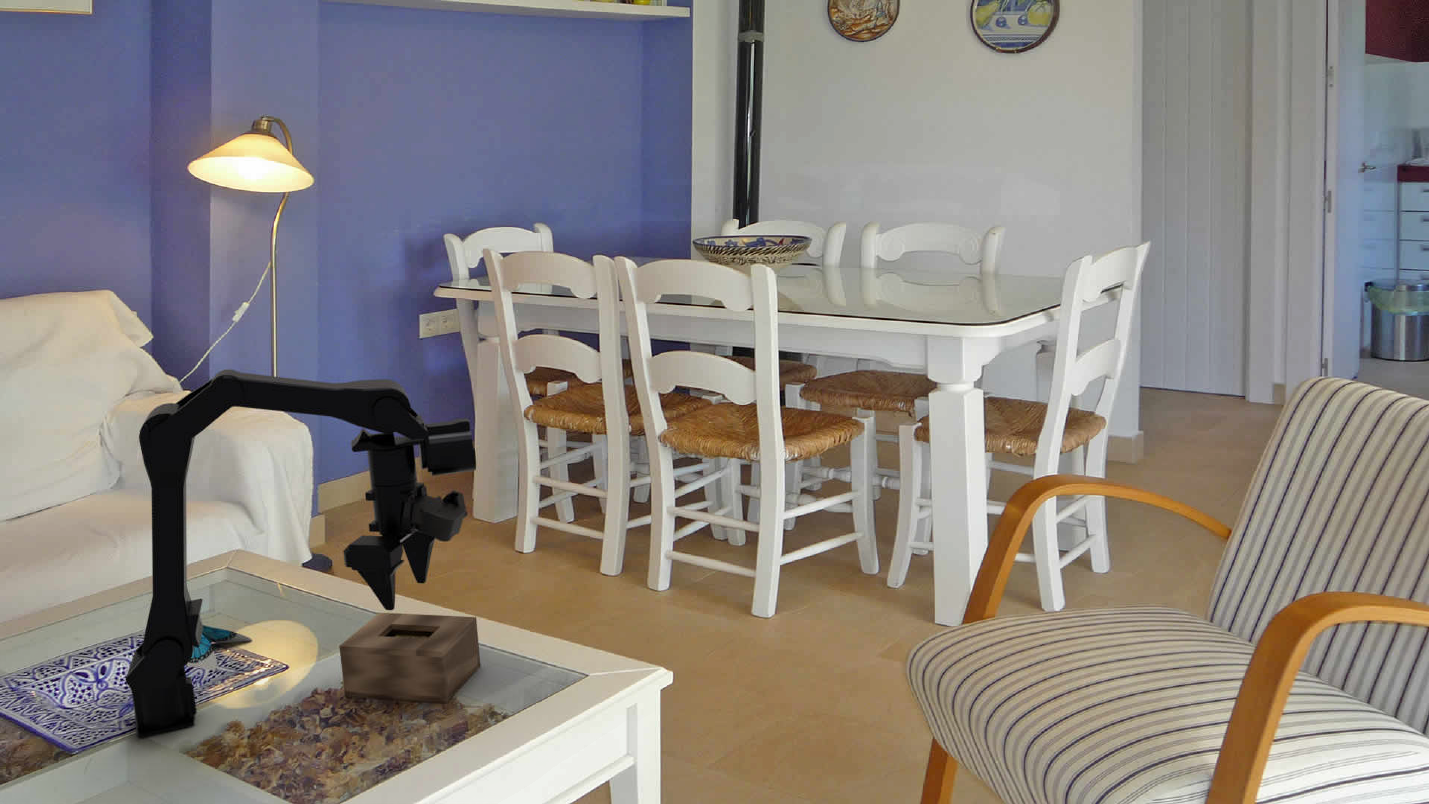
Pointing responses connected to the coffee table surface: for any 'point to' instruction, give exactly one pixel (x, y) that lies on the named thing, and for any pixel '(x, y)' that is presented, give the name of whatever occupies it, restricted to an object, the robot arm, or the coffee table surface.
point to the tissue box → (410, 657)
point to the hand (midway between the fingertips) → (406, 596)
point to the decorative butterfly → (204, 652)
